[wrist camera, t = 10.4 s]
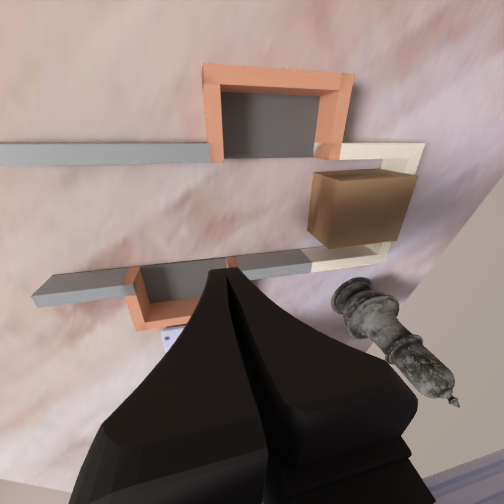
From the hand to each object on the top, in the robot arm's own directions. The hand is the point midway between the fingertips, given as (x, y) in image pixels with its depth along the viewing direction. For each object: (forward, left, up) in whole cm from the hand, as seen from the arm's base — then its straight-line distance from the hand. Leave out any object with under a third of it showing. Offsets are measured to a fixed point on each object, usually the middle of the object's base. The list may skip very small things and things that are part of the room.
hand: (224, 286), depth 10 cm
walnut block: (+1, -11, -9) cm, 14 cm away
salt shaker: (-10, -15, -9) cm, 20 cm away
